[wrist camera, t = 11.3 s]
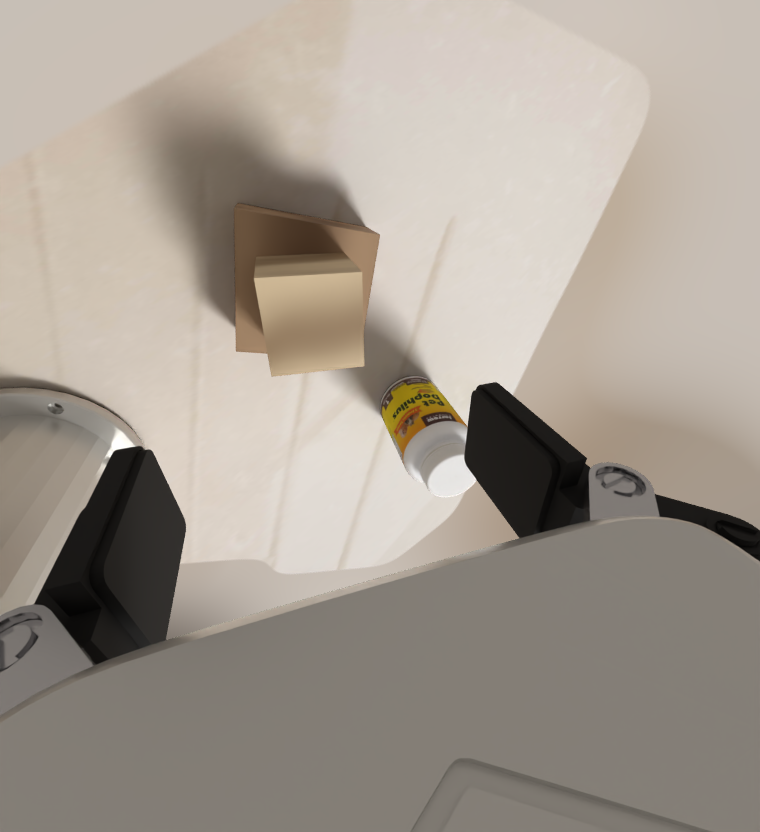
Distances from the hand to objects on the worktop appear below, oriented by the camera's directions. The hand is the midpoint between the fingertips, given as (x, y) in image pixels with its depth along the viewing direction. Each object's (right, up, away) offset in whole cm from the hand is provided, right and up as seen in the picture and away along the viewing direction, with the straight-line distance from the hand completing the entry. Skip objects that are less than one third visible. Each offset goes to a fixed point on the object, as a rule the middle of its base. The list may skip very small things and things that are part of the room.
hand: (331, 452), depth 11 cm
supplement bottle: (+4, +3, +22) cm, 23 cm away
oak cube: (-3, +8, +12) cm, 15 cm away
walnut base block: (-4, +11, +15) cm, 19 cm away
